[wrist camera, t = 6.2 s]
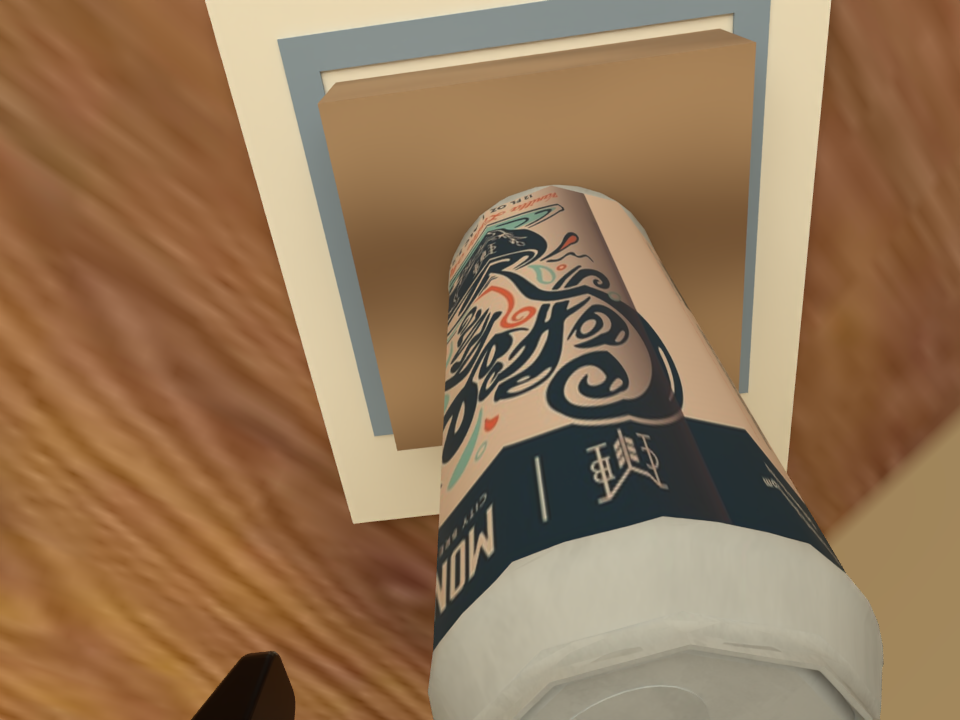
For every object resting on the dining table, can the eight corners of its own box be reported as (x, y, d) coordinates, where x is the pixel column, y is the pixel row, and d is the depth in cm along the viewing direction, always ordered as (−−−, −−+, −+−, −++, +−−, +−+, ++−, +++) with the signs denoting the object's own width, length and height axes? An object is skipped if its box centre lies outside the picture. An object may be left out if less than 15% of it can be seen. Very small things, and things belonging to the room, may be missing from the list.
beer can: (522, 135, 16) (632, 522, 5) (695, 246, 17) (1047, 730, 7) (411, 308, 18) (336, 834, 7) (573, 397, 19) (701, 949, 9)
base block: (710, 363, 22) (737, 411, 20) (403, 399, 22) (397, 450, 20) (719, 28, 17) (756, 42, 15) (335, 82, 18) (317, 103, 16)
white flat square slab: (779, 463, 24) (787, 477, 24) (355, 511, 25) (352, 525, 24) (829, -115, 16) (844, -116, 16) (207, -21, 17) (197, -20, 16)
